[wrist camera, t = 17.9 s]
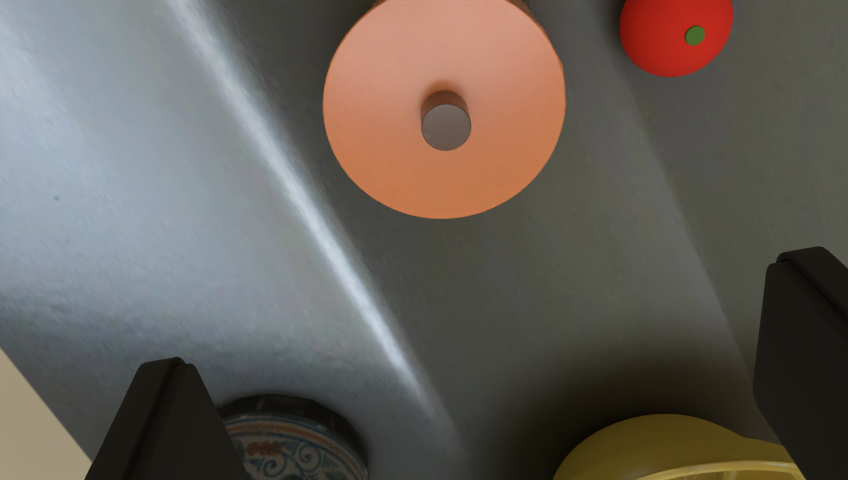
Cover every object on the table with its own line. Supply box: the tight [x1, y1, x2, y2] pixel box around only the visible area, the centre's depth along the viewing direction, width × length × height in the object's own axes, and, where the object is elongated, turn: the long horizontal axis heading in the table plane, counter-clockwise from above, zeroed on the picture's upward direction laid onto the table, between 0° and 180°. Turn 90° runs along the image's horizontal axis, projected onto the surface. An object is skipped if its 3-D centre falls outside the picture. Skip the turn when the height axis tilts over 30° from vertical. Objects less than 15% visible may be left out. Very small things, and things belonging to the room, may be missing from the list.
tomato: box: [619, 0, 733, 77], centre depth 37 cm, size 6×6×6 cm
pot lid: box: [323, 0, 566, 219], centre depth 32 cm, size 12×12×3 cm
